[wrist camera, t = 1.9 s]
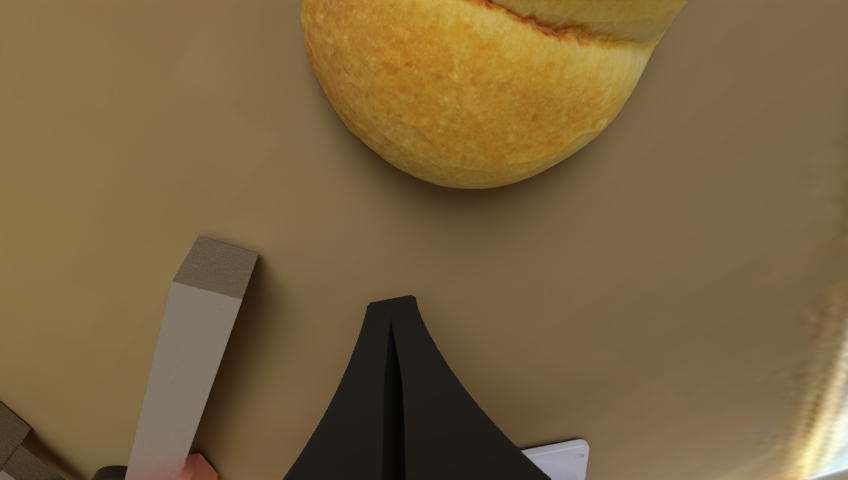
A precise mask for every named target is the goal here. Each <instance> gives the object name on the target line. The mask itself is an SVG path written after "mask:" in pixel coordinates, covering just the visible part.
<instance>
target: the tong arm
mask: <svg viewBox="0 0 848 480" xmlns="http://www.w3.org/2000/svg"><path fill="white" fill-rule="evenodd" d="M257 257H258V253H255V252H252V251H248V250H245V249H242V248H238V247H235V246H232V245H228V244H225V243H221V242H218V241H215V240H211V239H208V238H205V237H201V236H198V238H197V240H196V241H195V243H194V245H193V247H192V248H191V250H190V252H189V253H188V255H187V257H186V258H185V260H184V262H183V264H182V265H181V267H180V269H179V270H178V272H177V274H176V275H175V277H174V279H173V281H172V283H171V288H170V292H169V296H168V300H167V304H166V309H165V313H164V317H163V321H162V325H161V330H160V334H159V338H158V342H157V346H156V351H155V355H154V359H153V363H152V367H151V372H150V376H149V380H148V384H147V388H146V393H145V397H144V401H143V405H142V409H141V414H140V418H139V422H138V426H137V431H136V435H135V439H134V443H133V447H132V452H131V456H130V460H129V464H128V468H127V473H126V477H125V480H179V478H180V475H181V473H182V470H183V467H184V464H185V461H186V458H187V456H188V453H189V450H190V447H191V444H192V441H193V439H194V436H195V433H196V430H197V427H198V424H199V422H200V419H201V416H202V413H203V410H204V407H205V405H206V402H207V399H208V396H209V393H210V390H211V388H212V385H213V382H214V379H215V376H216V373H217V371H218V368H219V365H220V362H221V359H222V356H223V354H224V351H225V348H226V345H227V342H228V339H229V336H230V334H231V331H232V328H233V325H234V322H235V319H236V317H237V314H238V311H239V308H240V305H241V302H242V300H243V297H244V294H245V291H246V288H247V285H248V283H249V280H250V277H251V274H252V271H253V268H254V266H255V263H256V260H257Z"/></svg>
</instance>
